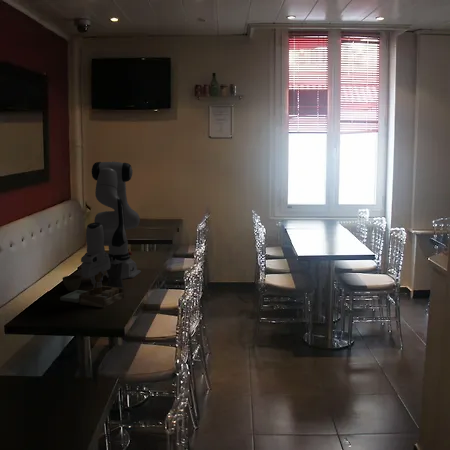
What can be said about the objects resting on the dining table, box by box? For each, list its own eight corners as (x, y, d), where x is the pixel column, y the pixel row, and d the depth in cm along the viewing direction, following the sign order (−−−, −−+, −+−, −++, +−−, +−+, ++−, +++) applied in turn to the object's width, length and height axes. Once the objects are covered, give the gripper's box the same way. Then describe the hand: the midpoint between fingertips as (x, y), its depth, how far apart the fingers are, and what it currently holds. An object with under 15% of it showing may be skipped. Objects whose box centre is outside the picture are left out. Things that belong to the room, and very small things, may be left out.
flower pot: (74, 286, 306) (73, 274, 305) (86, 289, 300) (85, 276, 299) (59, 290, 298) (58, 277, 297) (71, 293, 292) (70, 280, 291)
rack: (100, 294, 289) (100, 285, 289) (123, 297, 284) (123, 288, 284) (79, 304, 273) (79, 294, 272) (103, 307, 268) (103, 297, 267)
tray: (77, 293, 292) (77, 289, 292) (93, 295, 289) (93, 291, 288) (60, 300, 279) (60, 297, 279) (77, 302, 276) (76, 299, 275)
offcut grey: (101, 303, 275) (101, 295, 275) (107, 303, 274) (107, 296, 273) (96, 305, 271) (96, 297, 270) (102, 306, 270) (102, 298, 269)
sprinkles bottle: (101, 294, 278) (100, 268, 276) (92, 294, 278) (91, 268, 276) (103, 291, 283) (101, 266, 281) (94, 292, 283) (92, 266, 280)
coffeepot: (127, 291, 296) (125, 258, 293) (109, 293, 292) (108, 259, 290) (119, 284, 310) (118, 252, 307) (103, 286, 306) (101, 254, 303)
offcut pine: (106, 300, 279) (106, 290, 278) (112, 301, 278) (112, 290, 277) (102, 302, 276) (101, 292, 275) (108, 303, 274) (107, 292, 274)
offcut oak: (113, 297, 285) (112, 288, 284) (119, 298, 284) (118, 288, 283) (107, 300, 280) (107, 290, 280) (113, 300, 279) (113, 291, 278)
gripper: (102, 250, 288) (103, 276, 290) (78, 259, 269) (79, 286, 271) (112, 251, 286) (114, 277, 288) (89, 260, 267) (90, 288, 269)
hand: (97, 282), depth 280 cm, fingers closed on sprinkles bottle, 4 cm apart
